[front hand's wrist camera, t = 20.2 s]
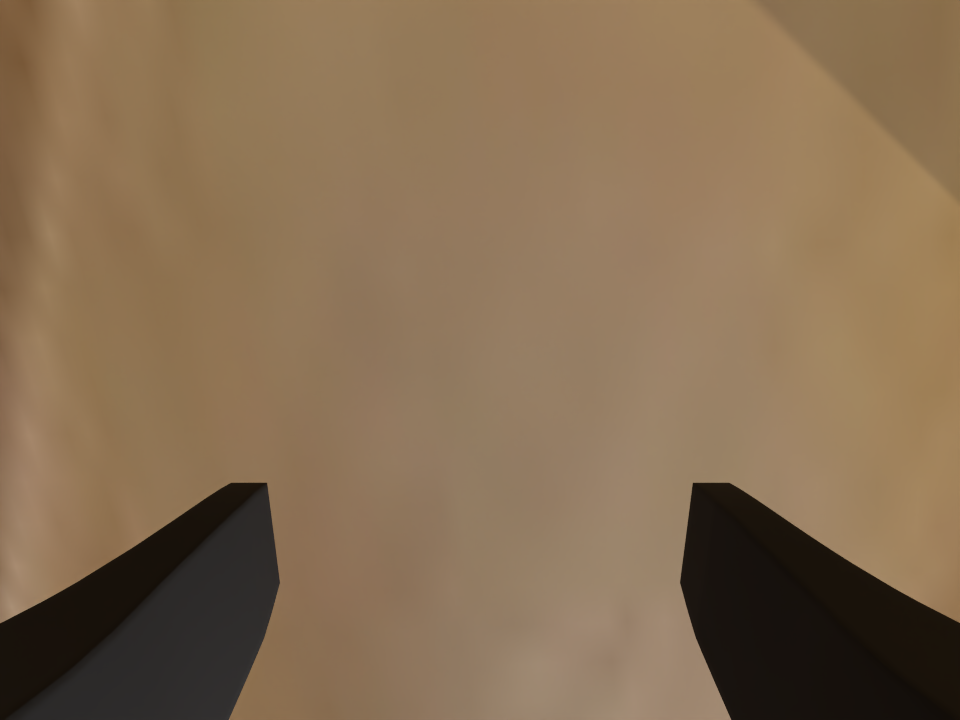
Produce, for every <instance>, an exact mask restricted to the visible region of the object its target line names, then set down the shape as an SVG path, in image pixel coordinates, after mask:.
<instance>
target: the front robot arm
mask: <svg viewBox="0 0 960 720" xmlns="http://www.w3.org/2000/svg"><path fill="white" fill-rule="evenodd" d="M279 584H280V580H279V572H278V565H277V557H276V549H275V541H274V533H273V526H272V518H271V510H270V502H269V495H268V487H267V483H230V484H228V485H227V486H225V487H223V488H221V489H220V490H218V491H216V492H215V493H213V494H212V495H210V496H209V497H207V498H206V499H204V500H203V501H201V502H200V503H198V504H197V505H195V506H194V507H192V508H191V509H190V510H188V511H187V512H185V513H184V514H182V515H181V516H179V517H178V518H176V519H175V520H173V521H172V522H171V523H169V524H168V525H166V526H165V527H163V528H162V529H160V530H159V531H157V532H156V533H154V534H153V535H151V536H150V537H148V538H147V539H145V540H144V541H142V542H141V543H139V544H138V545H136V546H135V547H133V548H132V549H130V550H128V551H127V552H125V553H124V554H122V555H120V556H119V557H117V558H115V559H114V560H112V561H111V562H109V563H107V564H106V565H104V566H103V567H101V568H99V569H98V570H96V571H95V572H93V573H91V574H90V575H88V576H86V577H85V578H83V579H82V580H80V581H78V582H77V583H75V584H73V585H71V586H70V587H68V588H66V589H65V590H63V591H61V592H59V593H57V594H56V595H54V596H52V597H50V598H48V599H46V600H45V601H43V602H41V603H39V604H37V605H35V606H33V607H31V608H29V609H27V610H26V611H24V612H22V613H20V614H18V615H16V616H14V617H12V618H10V619H8V620H6V621H4V622H2V623H0V720H229V718H230V715H231V713H232V711H233V709H234V706H235V704H236V702H237V700H238V697H239V695H240V693H241V690H242V688H243V686H244V684H245V681H246V679H247V677H248V674H249V672H250V670H251V667H252V665H253V663H254V660H255V658H256V656H257V653H258V651H259V649H260V646H261V644H262V641H263V639H264V636H265V633H266V630H267V626H268V623H269V620H270V616H271V613H272V610H273V606H274V602H275V598H276V595H277V591H278V587H279ZM680 584H681V587H682V591H683V595H684V598H685V602H686V606H687V610H688V613H689V616H690V620H691V623H692V626H693V630H694V633H695V636H696V639H697V641H698V644H699V646H700V649H701V651H702V653H703V656H704V658H705V660H706V663H707V665H708V667H709V670H710V672H711V674H712V677H713V679H714V681H715V684H716V686H717V688H718V690H719V693H720V695H721V697H722V700H723V702H724V704H725V706H726V709H727V711H728V713H729V715H730V718H731V720H960V623H959V622H957V621H955V620H953V619H951V618H949V617H947V616H945V615H943V614H941V613H939V612H937V611H935V610H933V609H931V608H929V607H927V606H926V605H924V604H922V603H920V602H918V601H916V600H914V599H912V598H910V597H909V596H907V595H905V594H903V593H901V592H900V591H898V590H896V589H894V588H893V587H891V586H889V585H887V584H886V583H884V582H882V581H881V580H879V579H877V578H876V577H874V576H872V575H871V574H869V573H867V572H866V571H864V570H862V569H861V568H859V567H857V566H856V565H854V564H852V563H851V562H849V561H848V560H846V559H844V558H843V557H841V556H840V555H838V554H837V553H835V552H833V551H832V550H830V549H829V548H827V547H826V546H824V545H823V544H821V543H820V542H818V541H817V540H815V539H814V538H812V537H811V536H809V535H808V534H806V533H805V532H803V531H802V530H800V529H799V528H797V527H796V526H794V525H793V524H791V523H790V522H788V521H787V520H785V519H784V518H783V517H781V516H780V515H778V514H777V513H775V512H774V511H772V510H771V509H769V508H768V507H766V506H765V505H764V504H762V503H761V502H759V501H758V500H756V499H755V498H753V497H752V496H750V495H749V494H747V493H745V492H744V491H742V490H741V489H739V488H737V487H736V486H734V485H732V484H730V483H693V487H692V495H691V502H690V510H689V518H688V526H687V533H686V541H685V549H684V557H683V565H682V572H681V580H680Z"/></svg>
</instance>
